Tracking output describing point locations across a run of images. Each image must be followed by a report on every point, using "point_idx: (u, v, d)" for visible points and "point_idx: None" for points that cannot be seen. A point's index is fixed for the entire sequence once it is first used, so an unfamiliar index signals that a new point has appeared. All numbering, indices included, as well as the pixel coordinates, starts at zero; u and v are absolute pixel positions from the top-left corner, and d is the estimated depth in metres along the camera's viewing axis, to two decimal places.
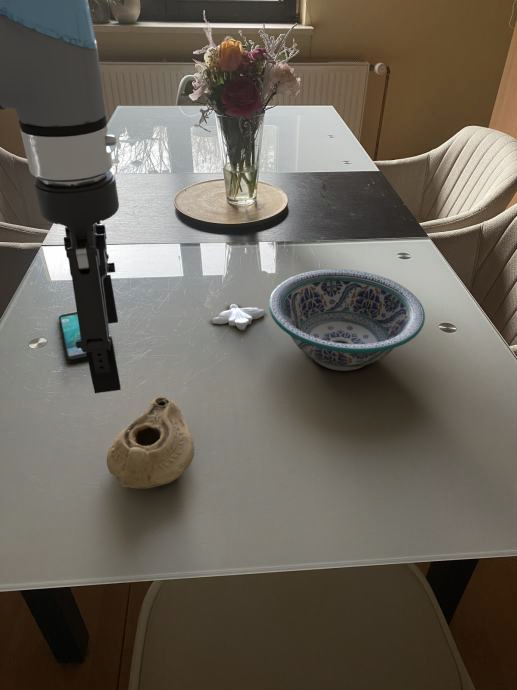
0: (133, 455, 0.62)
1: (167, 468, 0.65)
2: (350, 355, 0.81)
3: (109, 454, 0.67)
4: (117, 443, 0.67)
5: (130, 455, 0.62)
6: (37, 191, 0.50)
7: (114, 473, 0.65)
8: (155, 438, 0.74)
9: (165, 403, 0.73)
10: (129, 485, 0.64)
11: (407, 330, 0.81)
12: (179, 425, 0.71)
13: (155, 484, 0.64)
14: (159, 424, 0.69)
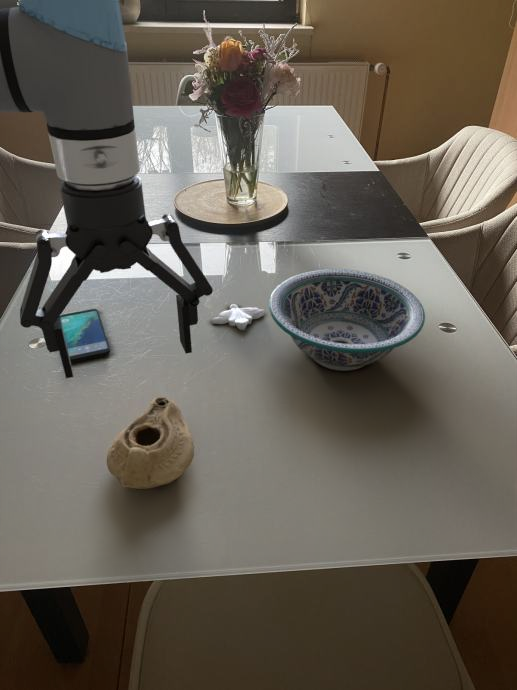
0: (133, 455, 0.62)
1: (167, 468, 0.65)
2: (350, 355, 0.81)
3: (109, 454, 0.67)
4: (117, 443, 0.67)
5: (130, 455, 0.62)
6: None
7: (114, 473, 0.65)
8: (155, 438, 0.74)
9: (165, 403, 0.73)
10: (129, 485, 0.64)
11: (407, 330, 0.81)
12: (179, 425, 0.71)
13: (155, 484, 0.64)
14: (159, 424, 0.69)
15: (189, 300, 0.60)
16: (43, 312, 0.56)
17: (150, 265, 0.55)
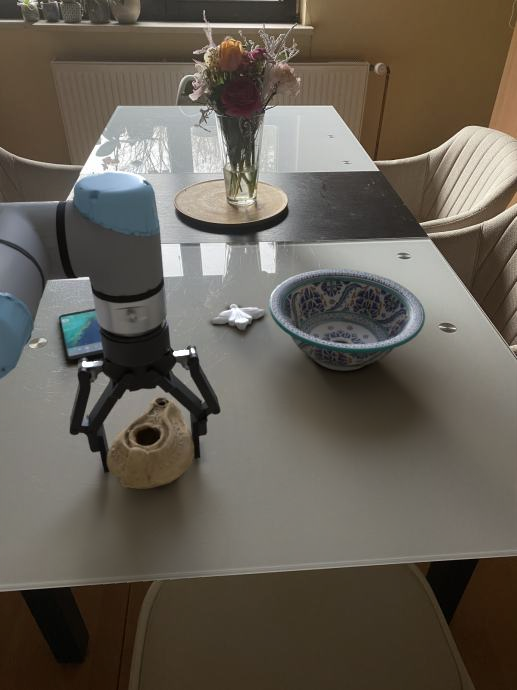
0: (133, 455, 0.62)
1: (167, 468, 0.65)
2: (350, 355, 0.81)
3: (109, 454, 0.67)
4: (117, 443, 0.67)
5: (130, 455, 0.62)
6: None
7: (114, 473, 0.65)
8: (155, 438, 0.74)
9: (165, 403, 0.73)
10: (129, 485, 0.64)
11: (407, 330, 0.81)
12: (179, 425, 0.71)
13: (155, 484, 0.64)
14: (159, 424, 0.69)
15: (199, 417, 0.68)
16: (89, 421, 0.66)
17: (170, 389, 0.63)
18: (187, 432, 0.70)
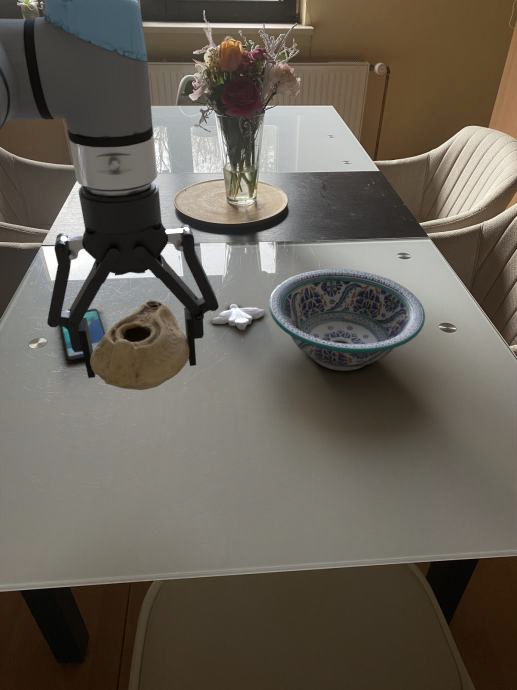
0: (119, 346, 0.55)
1: (158, 366, 0.57)
2: (350, 355, 0.81)
3: (93, 354, 0.59)
4: (102, 340, 0.59)
5: (115, 346, 0.55)
6: None
7: (98, 372, 0.58)
8: None
9: (158, 306, 0.66)
10: (114, 383, 0.56)
11: (407, 330, 0.81)
12: (173, 328, 0.63)
13: (144, 383, 0.57)
14: (150, 323, 0.62)
15: (194, 314, 0.60)
16: (70, 313, 0.58)
17: (161, 274, 0.56)
18: (181, 334, 0.63)
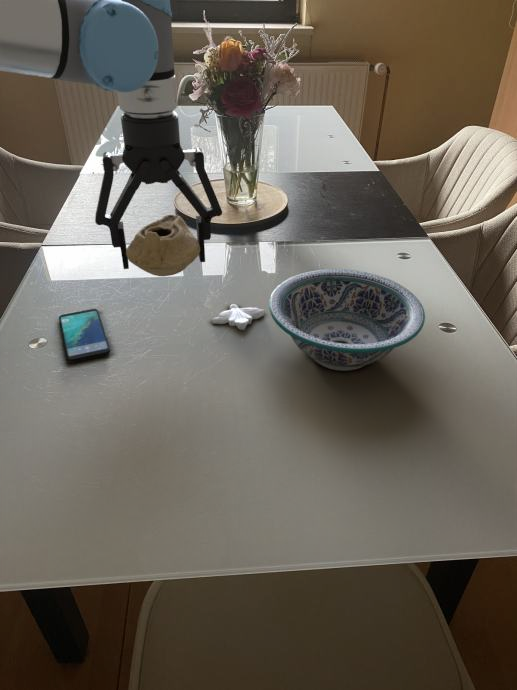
0: (149, 235, 0.74)
1: (177, 254, 0.77)
2: (350, 355, 0.81)
3: (128, 247, 0.79)
4: (135, 237, 0.79)
5: (146, 236, 0.74)
6: None
7: (132, 258, 0.77)
8: None
9: (175, 218, 0.85)
10: (145, 264, 0.76)
11: (407, 330, 0.81)
12: None
13: (167, 265, 0.76)
14: (170, 227, 0.81)
15: (204, 218, 0.80)
16: (111, 216, 0.78)
17: (179, 183, 0.75)
18: (194, 237, 0.82)
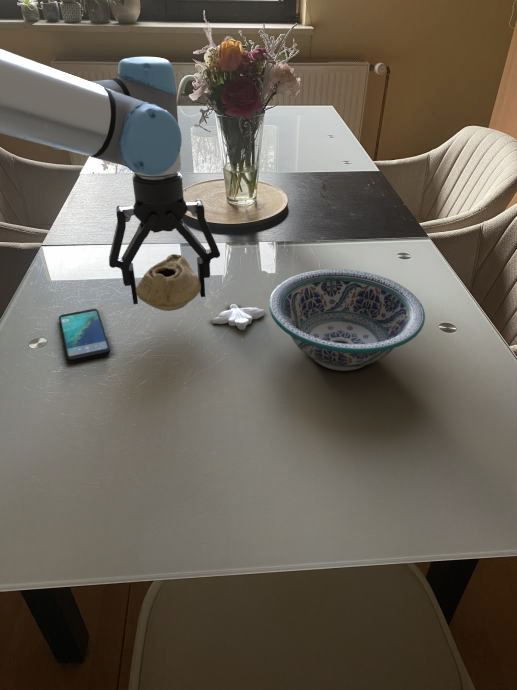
0: (157, 277, 0.85)
1: (181, 292, 0.88)
2: (350, 355, 0.81)
3: (137, 286, 0.90)
4: (143, 277, 0.90)
5: (154, 278, 0.85)
6: None
7: (142, 296, 0.88)
8: None
9: (178, 258, 0.96)
10: (153, 302, 0.87)
11: (407, 330, 0.81)
12: (189, 271, 0.94)
13: (172, 303, 0.87)
14: (174, 267, 0.92)
15: (204, 260, 0.91)
16: (123, 259, 0.89)
17: (182, 231, 0.86)
18: (195, 275, 0.93)
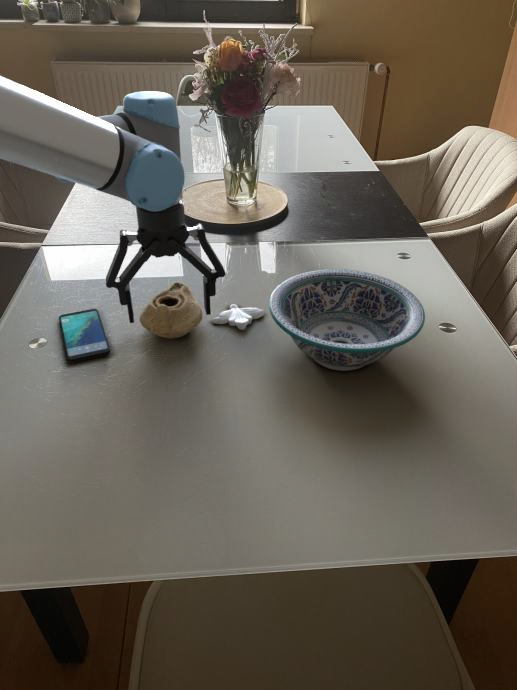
0: (160, 308, 0.89)
1: (183, 322, 0.91)
2: (350, 355, 0.81)
3: (141, 315, 0.93)
4: (147, 306, 0.93)
5: (158, 308, 0.89)
6: None
7: (146, 325, 0.91)
8: None
9: (180, 286, 1.00)
10: (157, 331, 0.90)
11: (407, 330, 0.81)
12: (191, 299, 0.97)
13: (175, 332, 0.91)
14: (177, 296, 0.96)
15: (210, 279, 0.93)
16: (119, 279, 0.91)
17: (186, 255, 0.89)
18: (197, 303, 0.97)
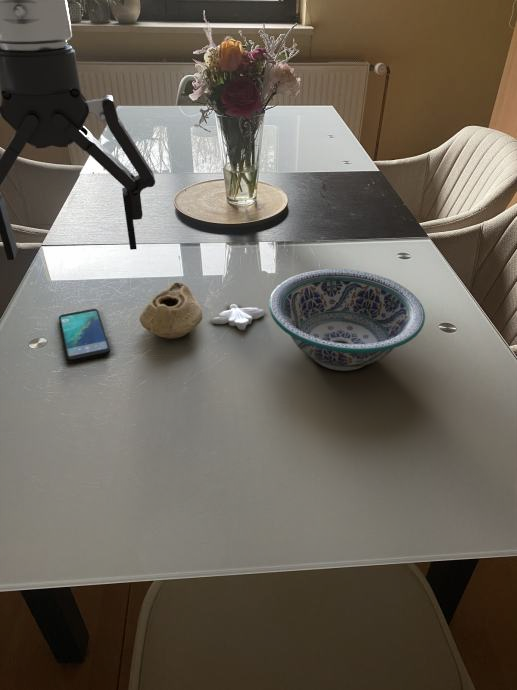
0: (160, 308, 0.89)
1: (183, 322, 0.91)
2: (350, 355, 0.81)
3: (141, 315, 0.93)
4: (147, 306, 0.93)
5: (158, 308, 0.89)
6: None
7: (146, 325, 0.91)
8: None
9: (180, 286, 1.00)
10: (157, 331, 0.90)
11: (407, 330, 0.81)
12: (191, 299, 0.97)
13: (175, 332, 0.91)
14: (177, 296, 0.96)
15: (130, 190, 0.59)
16: None
17: (86, 144, 0.55)
18: (197, 303, 0.97)
